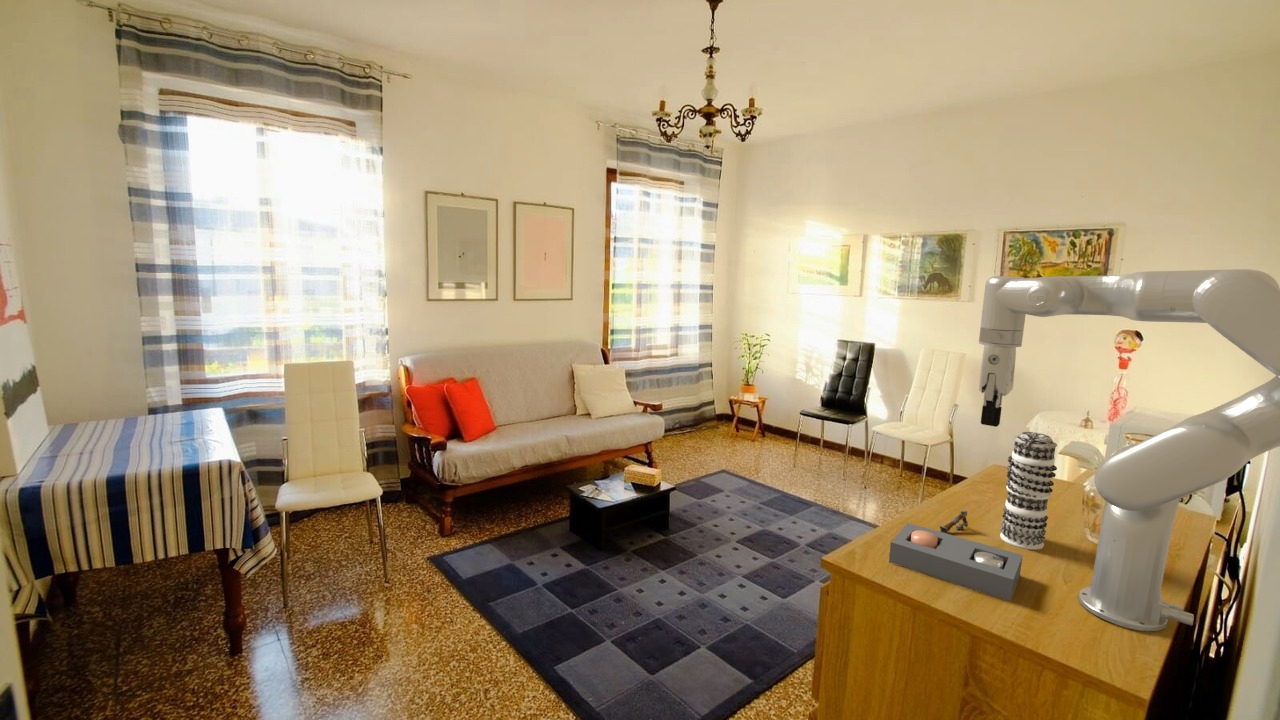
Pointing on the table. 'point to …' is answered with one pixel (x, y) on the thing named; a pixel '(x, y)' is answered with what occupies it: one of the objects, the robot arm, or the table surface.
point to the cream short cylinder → (989, 559)
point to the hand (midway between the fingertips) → (989, 424)
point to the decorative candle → (1028, 490)
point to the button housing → (957, 562)
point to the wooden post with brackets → (955, 522)
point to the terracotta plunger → (924, 538)
